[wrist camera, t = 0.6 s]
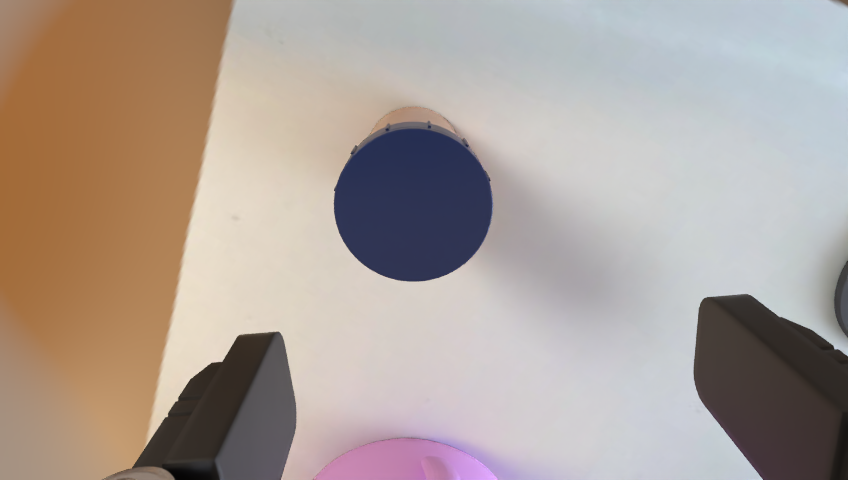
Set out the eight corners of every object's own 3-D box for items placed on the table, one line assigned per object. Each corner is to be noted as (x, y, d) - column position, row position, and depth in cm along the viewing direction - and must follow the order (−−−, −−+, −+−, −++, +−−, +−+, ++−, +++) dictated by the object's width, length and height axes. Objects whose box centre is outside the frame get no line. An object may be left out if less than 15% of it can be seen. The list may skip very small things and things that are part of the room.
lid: (378, 94, 21) (374, 99, 19) (512, 162, 21) (522, 173, 20) (317, 226, 22) (308, 243, 20) (445, 284, 23) (447, 305, 21)
